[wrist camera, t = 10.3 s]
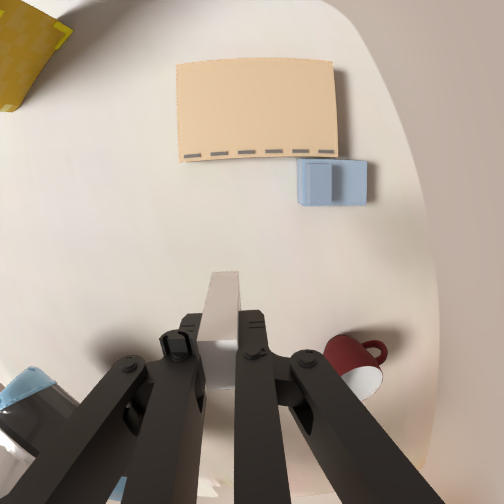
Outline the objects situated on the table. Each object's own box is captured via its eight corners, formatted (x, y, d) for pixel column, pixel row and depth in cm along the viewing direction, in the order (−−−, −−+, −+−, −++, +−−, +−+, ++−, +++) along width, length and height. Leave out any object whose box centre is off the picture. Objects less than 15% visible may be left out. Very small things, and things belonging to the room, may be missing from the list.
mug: (366, 307, 40) (393, 346, 30) (378, 341, 42) (402, 379, 33) (306, 339, 41) (320, 384, 32) (323, 369, 44) (338, 412, 34)
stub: (297, 202, 34) (307, 210, 29) (296, 158, 32) (306, 159, 27) (356, 201, 34) (374, 209, 29) (357, 160, 32) (375, 161, 27)
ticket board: (184, 162, 32) (178, 162, 29) (181, 71, 28) (175, 64, 25) (330, 156, 32) (338, 157, 29) (325, 68, 28) (332, 61, 25)
